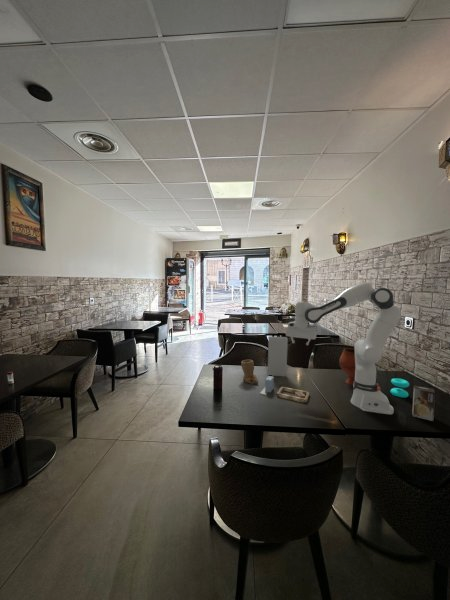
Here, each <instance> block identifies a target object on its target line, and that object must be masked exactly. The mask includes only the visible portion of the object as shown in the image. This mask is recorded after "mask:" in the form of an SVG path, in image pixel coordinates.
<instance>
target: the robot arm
mask: <svg viewBox="0 0 450 600" xmlns="http://www.w3.org/2000/svg"><path fill="white" fill-rule="evenodd" d="M366 301H369V302H371V303H372V305H374V306H375V307H378V309H379V310H378V314H377V315H376V317H375V318H374V320H372V322H371V324H370V326H369V327H368V329H367V334H366V336H365V338H363V339H362V338H361V339H358V340H356V341H355V342H354V347H353V349H355V366H356V369H355V379H354V385H352V386H353V387H352V388H353V392H352V396H351V399H350V403H351V405H353V406H355V407H357V408H358V409H360V410H362V411H364V412H369V413H376V414H383V415H384V414H385V415H390V416H391V415H393V414H394V413H395V412H394V411H395V410H394V407H393V406H392V405H391V404H390V401H389V399H388V396H387V395H386V394H384V393H383V392H382V391H381V387H380V385H379V383H377V382H376V379H377V368H376V364H377V363H379V362H380V361H381V359H382V357H383V352H384V350H385V346H386V344H387V341H388V339H389V338H390V336H391V335H392V333H393V331H394V330H395V328H396V326H397V325H398V323H399V321H400V319H401V316H402V310H401V309H400V308H399V307H398V306H395V305H394V304H395V303H394V294H393V292H392V290H390V289H389V288H387V287H379V288H374V287H372V285H371V284H370V283H368V282H362V283H358V284H356V285H352V286H350V287H348V288H347V289H345V290H343V291H342V292H340V293H339V294H338V295H337V296H336V297H335V298H333V299H332V300H331V301H329V302H326V303H324V304H322V305H320V306H317V305H315V304H312V303H310V302H309V301H308V300H301V301H298V302H297V303H296V304H295V307H294V308H295V309H294V310H295V311H294V315H295V316H294V317H295V318H294V321H290V322H288V323H287V327H286V330H285V337H289V338H290V339H291V343H292V344H295V343H296V342H295V341H296V340H294V338H298V339H299V338H300V339H307V340H308V341H306V343H305V345H306V346H309V344H310V342H311V340H316V339H317V331H318V328H317V326H315V325H314V324H317V323H319V322H320V321H321V319H322V318H323V317H325V316H326V315H327V316H328V315H329V314H331V313H333V312H335V311H338V310H340V309H346V308H350V307H353V306H356V305H359V304H360V303H363V302H366ZM309 323H310V324H309ZM311 324H313V325H311Z"/></svg>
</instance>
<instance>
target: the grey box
mask: <svg viewBox="0 0 450 600" xmlns="http://www.w3.org/2000/svg"><path fill="white" fill-rule="evenodd" d="M288 339H289V338H288V336H268V345H267V346H268V349H267V350H268V351H267V370H266V371H267V372H266V374H267V376H269V375H272V377H287V369H288V368H287V365H288V364H287V363H288V361H287V360H288V341H289V340H288Z"/></svg>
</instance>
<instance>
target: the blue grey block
mask: <svg viewBox="0 0 450 600" xmlns="http://www.w3.org/2000/svg"><path fill="white" fill-rule="evenodd" d="M274 377H275V376H269V375H267V377H266V378H265V380H264V381H265V386H264V388H265V393H267V394H268V393H272V392H273V389H274V381H275V379H274Z"/></svg>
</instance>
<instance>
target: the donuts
mask: <svg viewBox="0 0 450 600" xmlns="http://www.w3.org/2000/svg"><path fill="white" fill-rule="evenodd" d="M390 383H391V384H392V385H394V386H395V387H393V388H391V389H390V391H389V393H390V394H392V396H394V397H398V398H402V399H405V398H408V397H409V393H408V391H406V390H405V389H404V388H408V387H409V386H410V382H409V381H408V380H406V379H403V378H391V380H390Z"/></svg>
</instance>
